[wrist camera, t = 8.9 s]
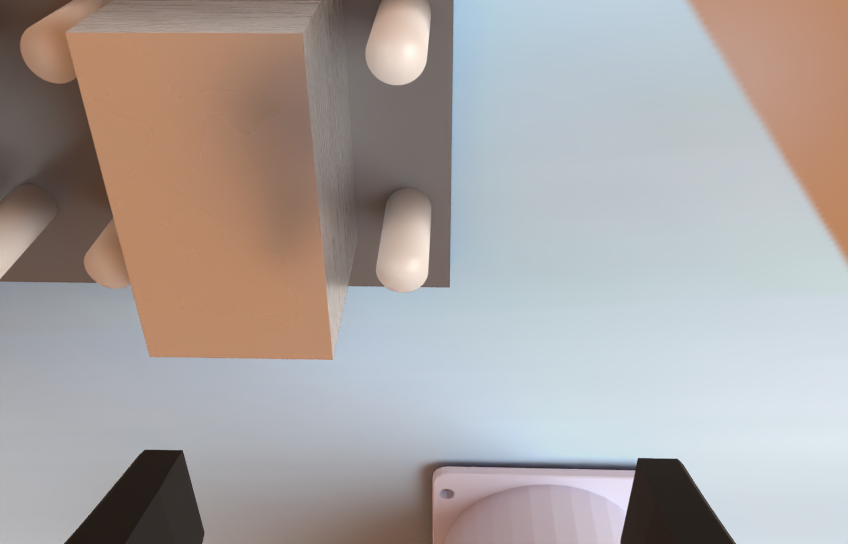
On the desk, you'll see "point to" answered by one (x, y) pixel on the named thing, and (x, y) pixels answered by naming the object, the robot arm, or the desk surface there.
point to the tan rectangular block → (226, 169)
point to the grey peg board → (370, 138)
